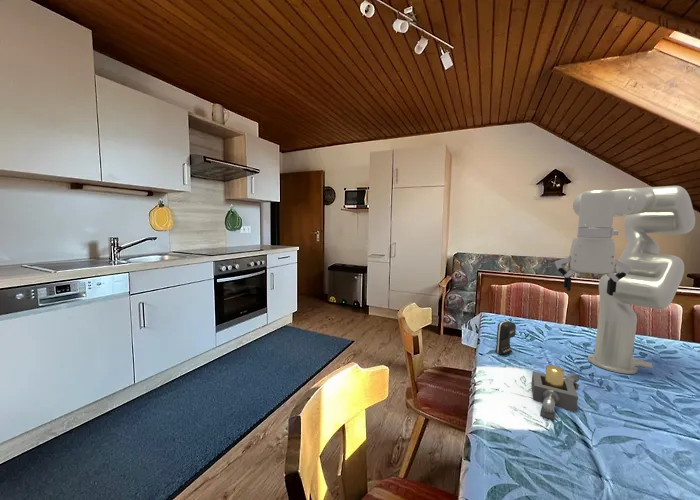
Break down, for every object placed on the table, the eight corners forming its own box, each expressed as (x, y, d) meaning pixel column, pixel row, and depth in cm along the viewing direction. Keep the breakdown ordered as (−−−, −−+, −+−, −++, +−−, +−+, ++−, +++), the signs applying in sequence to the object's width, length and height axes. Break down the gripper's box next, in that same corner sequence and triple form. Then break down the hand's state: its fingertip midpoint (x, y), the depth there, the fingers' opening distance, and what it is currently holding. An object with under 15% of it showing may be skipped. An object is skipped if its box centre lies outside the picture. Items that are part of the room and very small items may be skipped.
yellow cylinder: (560, 395, 80) (563, 367, 80) (562, 403, 77) (565, 373, 76) (543, 391, 82) (545, 363, 82) (544, 398, 79) (547, 369, 78)
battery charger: (505, 356, 104) (508, 325, 103) (494, 352, 107) (497, 322, 106) (515, 352, 108) (517, 322, 107) (504, 348, 111) (507, 319, 110)
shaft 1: (541, 402, 77) (543, 386, 76) (558, 408, 75) (560, 392, 74) (538, 415, 71) (539, 398, 71) (555, 422, 69) (557, 405, 69)
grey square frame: (570, 394, 81) (571, 380, 81) (576, 412, 73) (577, 396, 73) (531, 384, 86) (532, 371, 85) (533, 400, 78) (534, 385, 77)
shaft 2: (568, 395, 81) (570, 380, 80) (554, 389, 84) (555, 374, 83) (580, 388, 84) (582, 374, 84) (566, 382, 87) (567, 369, 87)
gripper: (629, 234, 83) (623, 293, 85) (555, 232, 92) (551, 286, 94) (639, 235, 77) (632, 299, 79) (558, 233, 85) (553, 291, 87)
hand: (588, 292), depth 86 cm, fingers open, 9 cm apart
